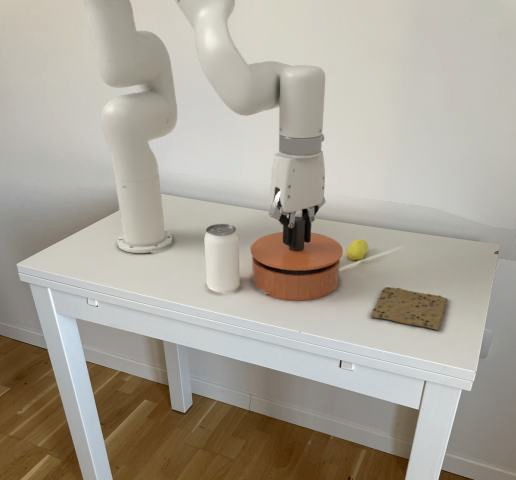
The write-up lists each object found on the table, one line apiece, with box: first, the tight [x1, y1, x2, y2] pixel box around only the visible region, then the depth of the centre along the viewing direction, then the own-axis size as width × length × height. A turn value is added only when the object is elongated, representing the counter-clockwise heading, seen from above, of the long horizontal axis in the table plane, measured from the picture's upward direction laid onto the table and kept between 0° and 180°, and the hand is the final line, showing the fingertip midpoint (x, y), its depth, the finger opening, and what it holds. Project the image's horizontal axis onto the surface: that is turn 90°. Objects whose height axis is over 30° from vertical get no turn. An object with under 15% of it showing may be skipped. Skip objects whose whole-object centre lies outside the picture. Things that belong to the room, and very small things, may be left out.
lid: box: [250, 215, 344, 271], centre depth 104 cm, size 18×18×7 cm
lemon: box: [346, 238, 369, 261], centre depth 117 cm, size 4×8×4 cm, turn 153°
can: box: [203, 223, 241, 293], centre depth 104 cm, size 6×6×12 cm
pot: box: [251, 255, 341, 302], centre depth 108 cm, size 17×17×5 cm
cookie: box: [371, 286, 448, 331], centre depth 99 cm, size 12×12×1 cm
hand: (296, 242), depth 105 cm, fingers closed on lid, 3 cm apart
